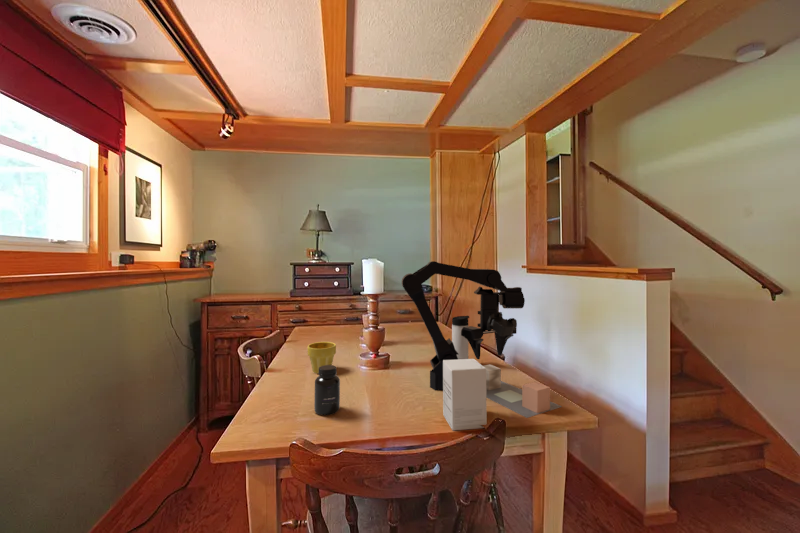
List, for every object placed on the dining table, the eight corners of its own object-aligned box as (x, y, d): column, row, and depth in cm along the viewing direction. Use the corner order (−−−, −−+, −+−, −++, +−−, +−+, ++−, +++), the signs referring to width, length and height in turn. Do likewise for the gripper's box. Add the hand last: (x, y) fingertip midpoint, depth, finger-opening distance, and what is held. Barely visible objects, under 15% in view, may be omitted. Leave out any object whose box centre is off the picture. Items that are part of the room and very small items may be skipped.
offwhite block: (488, 390, 105) (489, 371, 105) (478, 385, 110) (478, 366, 110) (500, 387, 108) (500, 368, 108) (489, 382, 112) (489, 364, 112)
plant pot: (332, 375, 122) (332, 348, 122) (304, 375, 122) (304, 348, 122) (338, 366, 132) (338, 341, 132) (311, 366, 132) (311, 341, 132)
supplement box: (474, 412, 92) (474, 357, 92) (487, 428, 83) (487, 368, 83) (442, 414, 91) (442, 359, 91) (451, 431, 82) (451, 369, 82)
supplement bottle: (327, 418, 89) (327, 372, 89) (309, 412, 92) (308, 368, 92) (345, 408, 95) (344, 365, 94) (327, 403, 98) (326, 362, 98)
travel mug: (470, 370, 128) (470, 317, 127) (453, 370, 128) (453, 317, 127) (467, 365, 134) (467, 314, 134) (450, 365, 134) (451, 314, 134)
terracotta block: (537, 413, 89) (537, 390, 89) (522, 406, 94) (522, 384, 94) (549, 409, 92) (550, 387, 92) (534, 402, 96) (534, 381, 96)
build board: (526, 421, 87) (526, 417, 87) (466, 390, 108) (466, 386, 108) (562, 410, 94) (562, 406, 94) (498, 382, 115) (498, 379, 115)
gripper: (485, 314, 97) (484, 368, 97) (530, 309, 106) (529, 359, 106) (460, 309, 106) (459, 358, 107) (503, 305, 115) (503, 351, 116)
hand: (489, 357), depth 109 cm, fingers open, 9 cm apart
